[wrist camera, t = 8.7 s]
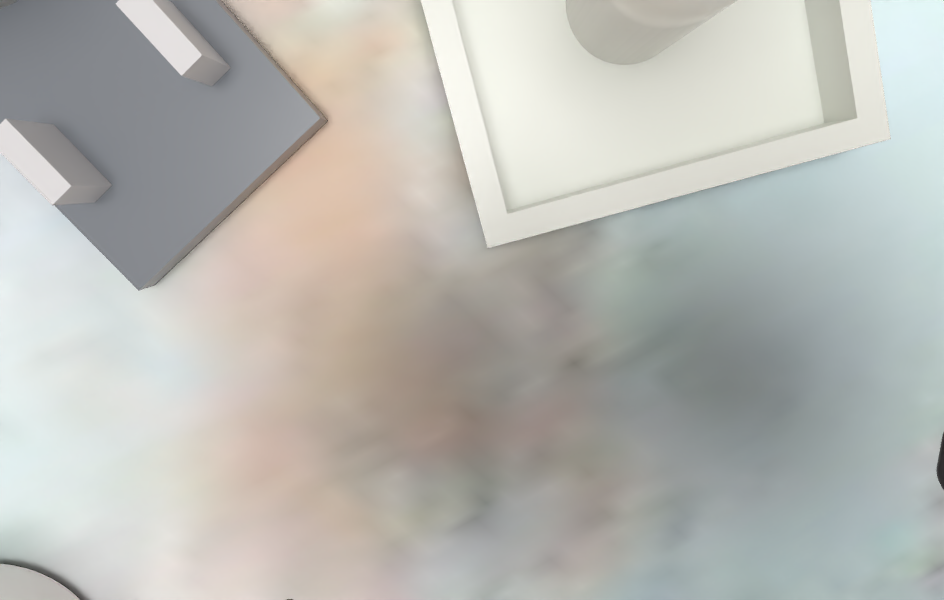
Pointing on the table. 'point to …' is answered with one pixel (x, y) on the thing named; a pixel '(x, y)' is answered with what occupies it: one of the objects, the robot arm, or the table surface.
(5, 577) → the pill bottle
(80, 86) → the fuse panel
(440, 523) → the table surface
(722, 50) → the tray
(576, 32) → the white cylinder orange top
